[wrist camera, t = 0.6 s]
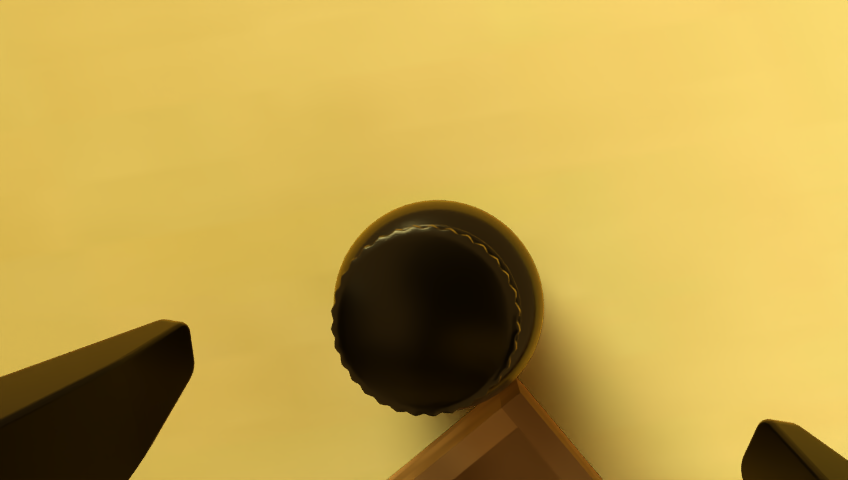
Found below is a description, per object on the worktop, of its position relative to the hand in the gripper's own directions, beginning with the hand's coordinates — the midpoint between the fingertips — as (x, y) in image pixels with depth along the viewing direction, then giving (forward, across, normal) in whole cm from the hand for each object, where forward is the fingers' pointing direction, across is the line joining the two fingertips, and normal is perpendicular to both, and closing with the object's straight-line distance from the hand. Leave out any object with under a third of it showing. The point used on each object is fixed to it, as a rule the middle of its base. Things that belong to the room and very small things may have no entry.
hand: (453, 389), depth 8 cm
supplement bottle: (+15, +1, +7) cm, 16 cm away
